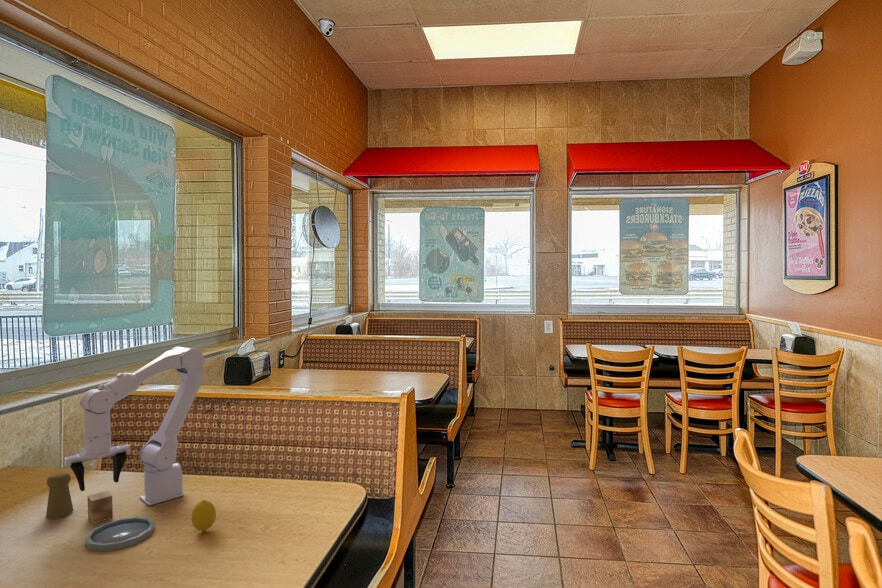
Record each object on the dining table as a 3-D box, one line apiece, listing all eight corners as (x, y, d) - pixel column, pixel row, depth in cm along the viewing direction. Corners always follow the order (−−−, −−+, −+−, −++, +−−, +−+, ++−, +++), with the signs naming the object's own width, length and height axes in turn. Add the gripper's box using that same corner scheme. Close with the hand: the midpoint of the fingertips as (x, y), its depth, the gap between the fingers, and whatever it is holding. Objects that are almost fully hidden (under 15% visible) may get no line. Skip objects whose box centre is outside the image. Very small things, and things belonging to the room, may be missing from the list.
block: (108, 512, 141) (107, 490, 140) (112, 517, 137) (112, 495, 137) (88, 518, 137) (87, 495, 137) (92, 523, 134) (91, 501, 134)
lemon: (220, 528, 131) (220, 497, 131) (204, 538, 126) (203, 506, 126) (203, 525, 133) (203, 494, 133) (186, 535, 128) (185, 503, 127)
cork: (58, 519, 136) (57, 478, 136) (39, 517, 138) (38, 477, 137) (79, 509, 142) (77, 470, 142) (60, 507, 144) (59, 468, 143)
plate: (143, 517, 138) (143, 511, 138) (161, 535, 128) (161, 529, 128) (80, 536, 128) (80, 530, 127) (94, 557, 118) (94, 551, 118)
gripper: (68, 444, 129) (69, 498, 129) (133, 432, 139) (134, 481, 139) (62, 438, 134) (63, 490, 134) (125, 426, 144) (126, 474, 144)
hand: (99, 485), depth 137 cm, fingers open, 7 cm apart
